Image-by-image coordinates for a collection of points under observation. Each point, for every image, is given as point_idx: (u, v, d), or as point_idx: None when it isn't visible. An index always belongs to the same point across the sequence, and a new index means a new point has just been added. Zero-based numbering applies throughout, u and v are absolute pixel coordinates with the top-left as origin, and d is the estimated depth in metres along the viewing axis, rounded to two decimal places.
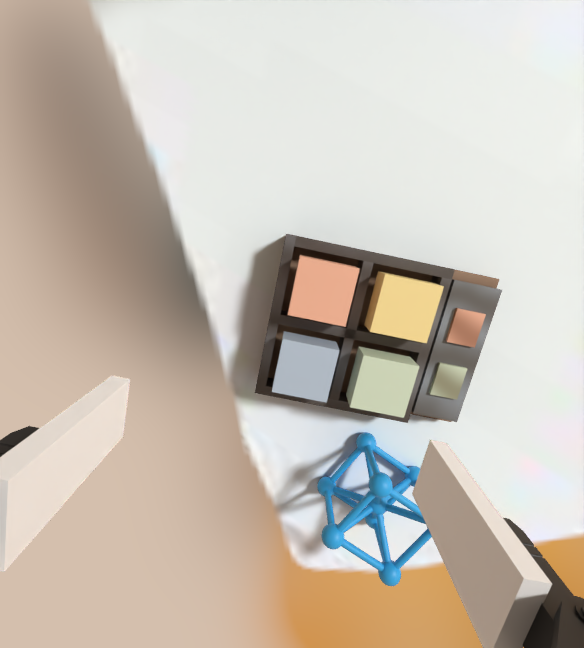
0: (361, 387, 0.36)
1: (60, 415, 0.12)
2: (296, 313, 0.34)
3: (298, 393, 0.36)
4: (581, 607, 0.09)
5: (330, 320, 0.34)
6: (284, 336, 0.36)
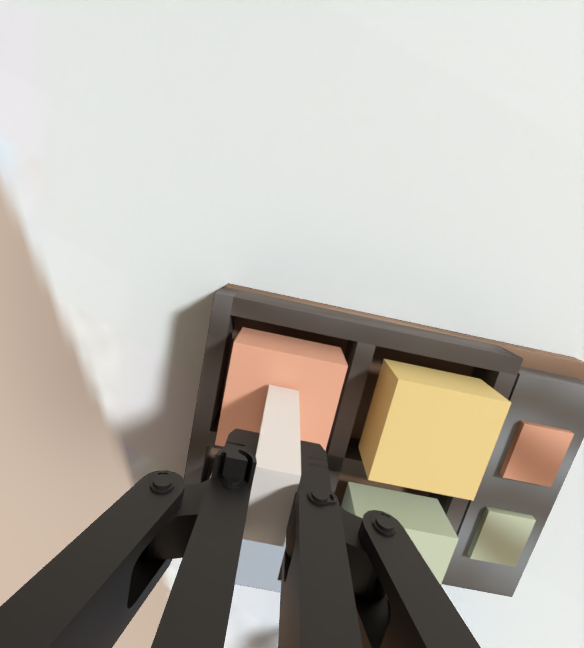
0: None
1: (262, 419, 0.14)
2: None
3: (238, 579, 0.20)
4: (311, 492, 0.11)
5: None
6: None
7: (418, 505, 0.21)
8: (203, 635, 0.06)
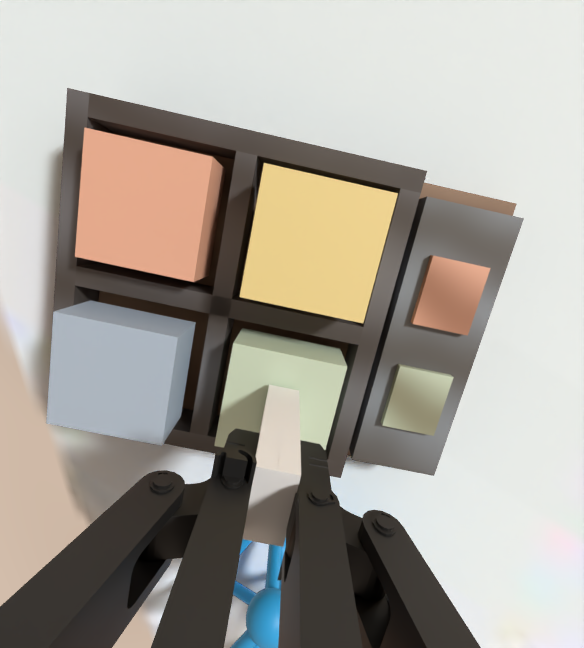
0: (233, 407, 0.18)
1: (262, 419, 0.14)
2: (92, 253, 0.17)
3: (101, 426, 0.17)
4: (311, 492, 0.11)
5: (162, 268, 0.17)
6: (69, 308, 0.17)
7: (314, 347, 0.19)
8: (203, 635, 0.06)
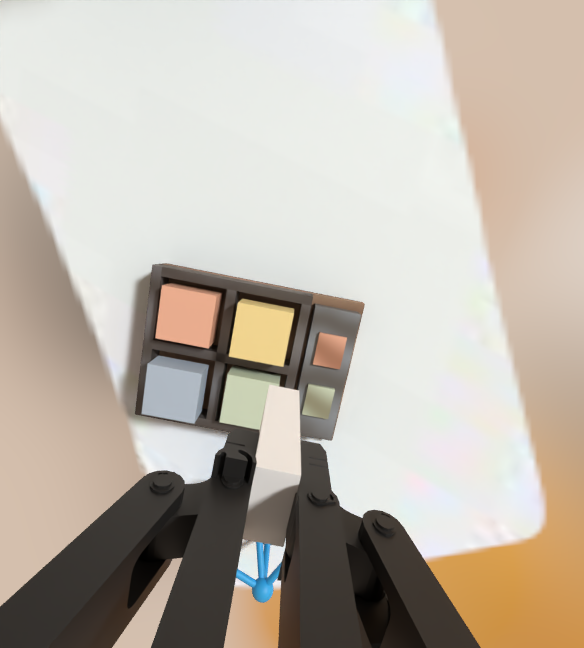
0: (228, 403, 0.39)
1: (262, 419, 0.14)
2: (163, 336, 0.38)
3: (166, 415, 0.38)
4: (311, 492, 0.11)
5: (194, 342, 0.38)
6: (152, 361, 0.38)
7: (266, 374, 0.40)
8: (204, 635, 0.06)
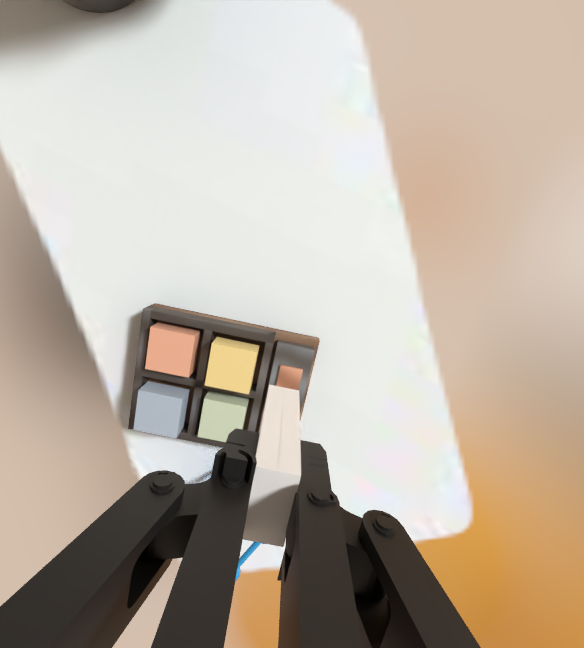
0: (204, 422, 0.48)
1: (262, 419, 0.14)
2: (151, 367, 0.46)
3: (154, 431, 0.46)
4: (311, 492, 0.11)
5: (177, 373, 0.46)
6: (142, 387, 0.46)
7: (237, 398, 0.49)
8: (203, 635, 0.06)
